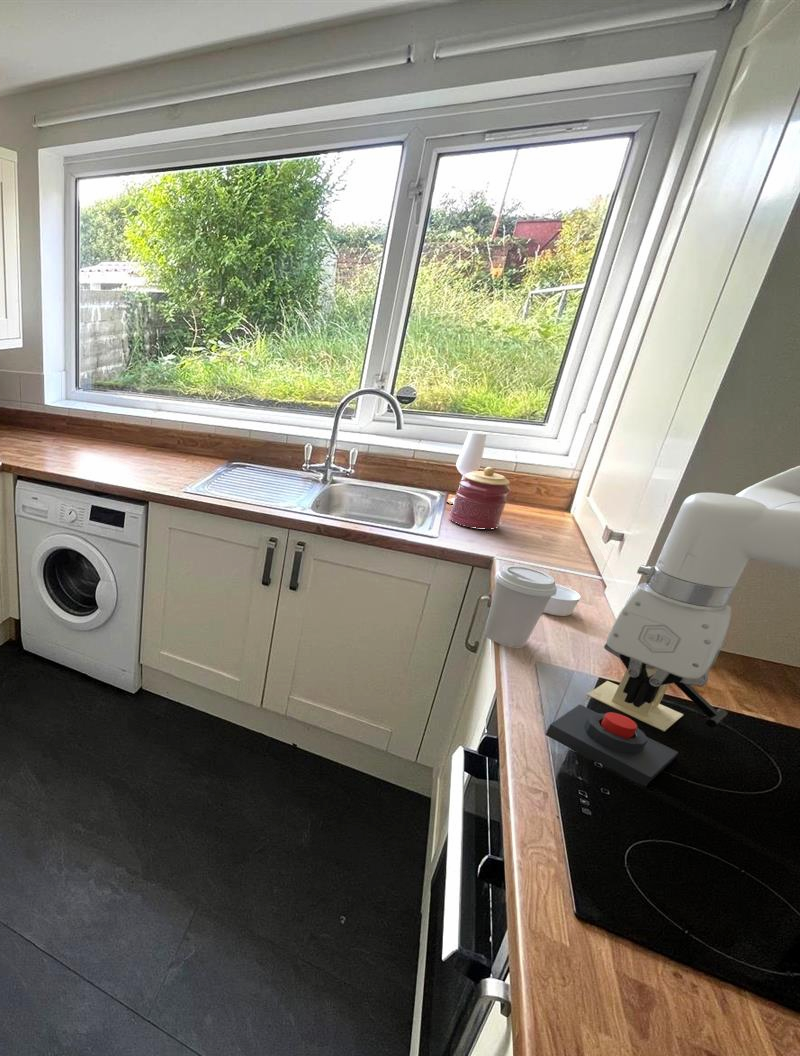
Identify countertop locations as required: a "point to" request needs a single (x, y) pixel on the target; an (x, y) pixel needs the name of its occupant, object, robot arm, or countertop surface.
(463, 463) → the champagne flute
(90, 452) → the countertop surface
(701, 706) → the lever
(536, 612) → the coffee cup
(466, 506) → the kitchen canister
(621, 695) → the beige lever stand
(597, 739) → the button block
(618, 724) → the button
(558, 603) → the ramekin
